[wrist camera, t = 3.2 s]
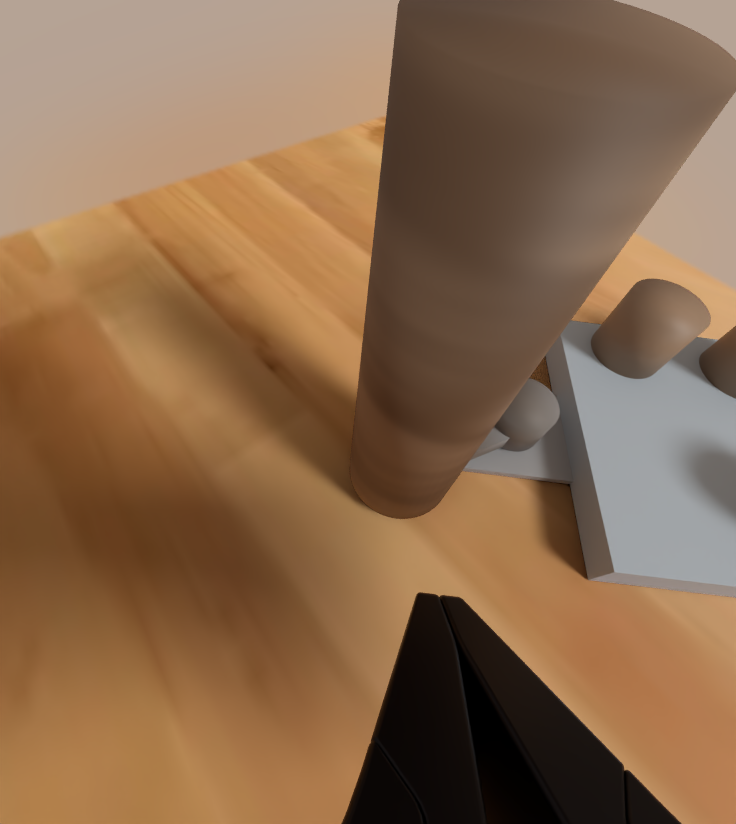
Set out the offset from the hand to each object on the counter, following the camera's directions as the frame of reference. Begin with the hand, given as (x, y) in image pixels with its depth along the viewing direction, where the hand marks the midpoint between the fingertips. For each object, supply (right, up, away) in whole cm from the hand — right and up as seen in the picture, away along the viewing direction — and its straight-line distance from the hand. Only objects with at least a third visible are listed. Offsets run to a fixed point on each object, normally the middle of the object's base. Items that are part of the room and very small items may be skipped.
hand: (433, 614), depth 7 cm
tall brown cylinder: (+2, +2, +9) cm, 9 cm away
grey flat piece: (+10, +4, +11) cm, 15 cm away
